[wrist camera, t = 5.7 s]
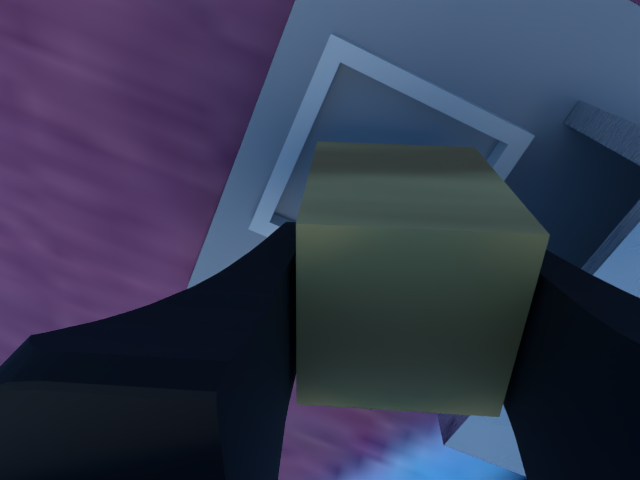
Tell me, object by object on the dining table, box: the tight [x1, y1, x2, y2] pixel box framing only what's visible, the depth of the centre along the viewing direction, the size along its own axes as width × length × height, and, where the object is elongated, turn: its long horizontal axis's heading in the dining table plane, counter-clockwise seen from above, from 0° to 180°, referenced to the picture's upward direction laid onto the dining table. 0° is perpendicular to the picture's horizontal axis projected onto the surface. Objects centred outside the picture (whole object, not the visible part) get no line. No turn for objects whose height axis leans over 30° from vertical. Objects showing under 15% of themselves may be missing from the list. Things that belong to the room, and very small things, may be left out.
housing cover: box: [437, 100, 640, 476], centre depth 15 cm, size 10×9×6 cm
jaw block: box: [296, 141, 550, 417], centre depth 10 cm, size 4×4×5 cm
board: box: [187, 0, 640, 289], centre depth 17 cm, size 16×17×2 cm
